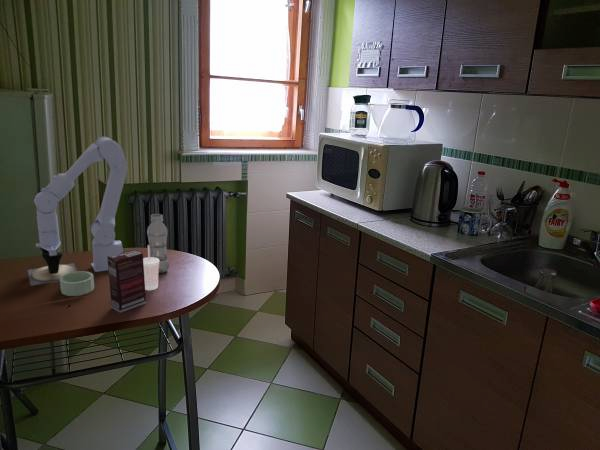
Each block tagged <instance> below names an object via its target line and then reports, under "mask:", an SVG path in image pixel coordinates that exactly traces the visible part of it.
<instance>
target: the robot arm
mask: <svg viewBox="0 0 600 450" xmlns="http://www.w3.org/2000/svg"><path fill="white" fill-rule="evenodd" d="M102 158H103V159H104V160H105V162H106V163H107V164H108V166H109V167H110V171H109V174H108V177H107V178H108V179H107V182H106V186H105V191H104V193H103V198H102V201H101V206H100V209H99V212H98V214H97V215H96V217H95V220H94V222H93V223H92V224H91V226H90V233H91V235H92V236H93V240H91V244H92V247H91V248H92V257H93V262H91V263H90V265H91V267H92V268H93V271H94V272H96V273H98V272H104V271H108V259H107V257H108V256H112V255H115V254H119V253H123V252H124V249H123V244H122V241H121V240H115V238H116V232H115V227H116V214H117V211H118V207H119V202H120V199H121V196H122V191H123V188H124V184H125V180H126V175H127V173H128V169H129V167H128V166H129V165H128V163H127V160H126V157H125V154H124V149H123V148H122V147H121V146H120V145H119V143H118V142H117V141H115V140H113V139H111V138H110V137H107V136H100V137H98V138H97V139H96V140H95V141H94V142H92V143H91V144H90V145H89V146H88V147H87V148H86V149H85V150H84V151H83V153H82V154H81V155H80V156H79V157H78V158H77V160H75V162H74V163H73V164H72V165H71V166H70V168H68V170H67V171H66V172H65V173H64V172H63V173H58V174H57V175H53V176H52V177H51V179H52V180H51V181H50V182H49V183H48V185H47V186H45V187H42V188H41V191H40V192H38V193H37V194H36V195H35V197H34V199H33V203H34V205H35V207H36V215H37V216H36V221H37V222H36V223H37V230H38V239H39V242H38V243H35V247H36V248H39V249H40V250H41V251H42V253H41V256H42V258H43V259H44V260H45V262H46V264H47V265H46V266H48V268H49V271H50V273H51V274H55V273H58V270H59V265H60V262H61V259H62V257H63V252H62V251H58V249H59V247H60V246H61V245H62V242H61V240H60V230H59V229H60V228H59V220H58V215H57V210H56V209H58V202H61V201H62V200H63V198H65V196H66V195H67V194H68V193H69V192H70V191H71V190H72V189H73V188H74V187H75V180H76V179H77V178H78V177H79V176H80V175H81V174H82V173H83V172H84V171H85V170H87V168H89V167H90V165H92V164H93V163H100V162H102V161H103V159H102Z"/></svg>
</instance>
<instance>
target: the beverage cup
mask: <svg viewBox="0 0 600 450" xmlns="http://www.w3.org/2000/svg"><path fill="white" fill-rule="evenodd" d="M159 261H160V260H159V259H158V258H155V257H150V246H149V244H147V257H143V265H144V279H145V291H153V290H156V289H158V288H159V273H158V269H159Z"/></svg>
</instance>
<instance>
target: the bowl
mask: <svg viewBox="0 0 600 450" xmlns="http://www.w3.org/2000/svg"><path fill="white" fill-rule="evenodd" d="M59 279H60V281H59V285H60V287H59V288H60V292H61V294H62V295H64V296H67V297H77V298H79V297H81V296H85V295H88V294H90V293H91V292H92V291H94V289H95V278H94V274H93V273H92V272H91V271H87V270H86V271H84V270H82V271H81V270H77V271H76V272H70V273H67V274H64V275H62V276H61V277H60V278H59Z"/></svg>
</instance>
